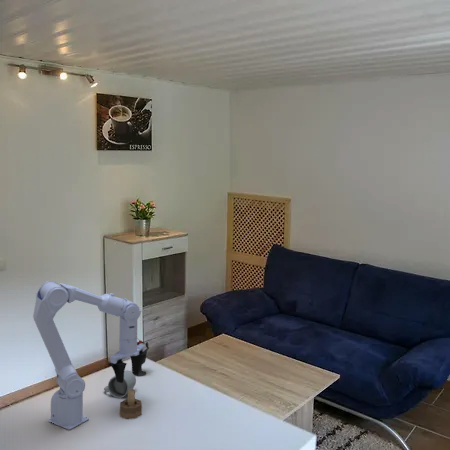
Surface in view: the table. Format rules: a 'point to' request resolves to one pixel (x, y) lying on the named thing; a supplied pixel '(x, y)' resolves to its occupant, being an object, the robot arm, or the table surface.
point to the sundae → (142, 373)
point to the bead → (130, 409)
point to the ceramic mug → (121, 385)
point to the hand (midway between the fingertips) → (127, 378)
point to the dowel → (131, 398)
